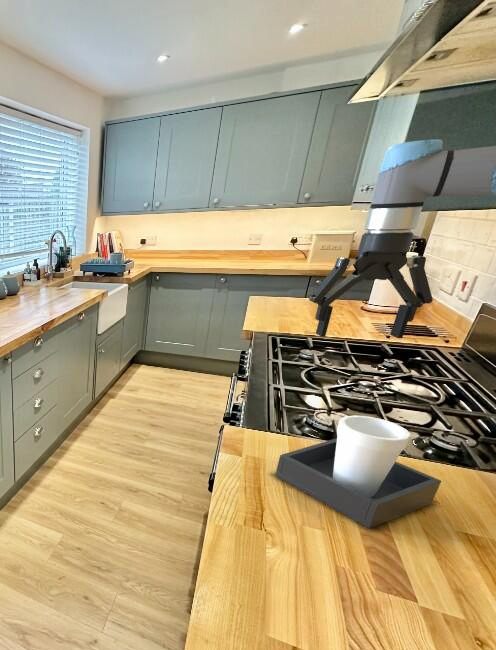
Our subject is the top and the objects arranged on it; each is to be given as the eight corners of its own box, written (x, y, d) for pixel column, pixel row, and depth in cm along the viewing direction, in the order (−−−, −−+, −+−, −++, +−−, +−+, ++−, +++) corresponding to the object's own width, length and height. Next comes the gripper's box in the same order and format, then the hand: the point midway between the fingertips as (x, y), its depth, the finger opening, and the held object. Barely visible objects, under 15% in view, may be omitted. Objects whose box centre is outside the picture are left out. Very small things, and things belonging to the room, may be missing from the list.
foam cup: (353, 505, 75) (375, 442, 70) (310, 476, 83) (327, 418, 78) (400, 499, 76) (425, 436, 71) (353, 470, 84) (372, 413, 79)
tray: (431, 503, 76) (441, 480, 74) (369, 528, 71) (378, 504, 69) (332, 457, 91) (338, 437, 89) (274, 475, 86) (280, 454, 84)
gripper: (454, 227, 82) (417, 332, 90) (306, 233, 88) (284, 330, 96) (484, 229, 75) (442, 342, 83) (322, 235, 82) (297, 339, 90)
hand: (357, 335), depth 90 cm, fingers open, 13 cm apart
